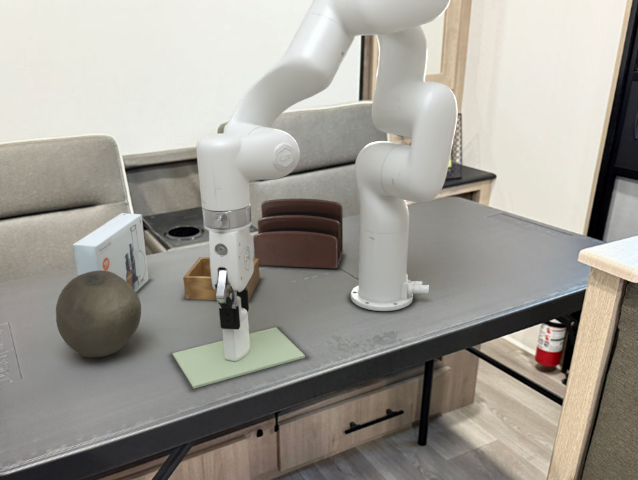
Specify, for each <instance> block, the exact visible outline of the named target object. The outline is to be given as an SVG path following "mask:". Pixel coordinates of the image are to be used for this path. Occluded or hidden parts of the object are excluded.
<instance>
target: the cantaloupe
mask: <svg viewBox="0 0 638 480" xmlns="http://www.w3.org/2000/svg"><path fill="white" fill-rule="evenodd" d="M139 297H140V296H139V295H138V294H137V292H135V291H134V289H133V287H132V286H131V285H130V284H129V283H128V282H127V281H125V280H124V279H123V278H121V277H119V276H118V275H116V274H115V273H112V272H109V271H101V270H100V271H91V272H87V273H84V274H81V275H79V276H78V275H77V276H75V277H74V278H72V279H71V280H70V281H68V283H67V284H66V285H65V286H64V287H63V288H62V290H61V292H60V293H59V296H58V297H57V301H56V305H55V322H56V327H57V330H58V333H59V335H60V336H61V338H62V340H63V341H64V343H65V344H66V345H67V346H68V347H69V348H70V349H72V351H74V352H75V353H76V354H78V355H80V356H83V357H86V358H102V357H107V356H110V355H111V354H114V353H116V352H117V351H119V350H120V349H122V348H123V347H124V346H125V345H126V344H127V342H128V341H129V340H130V339H131V338H132V337H133V336H134V335H135V333H136V331H137V329H138V328H139V325H140V322H141V318H142V303H141V299H140V298H139Z"/></svg>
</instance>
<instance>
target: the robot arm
mask: <svg viewBox="0 0 638 480" xmlns="http://www.w3.org/2000/svg"><path fill="white" fill-rule="evenodd" d="M450 2H451V0H312V2H311V4H310V6H309V8H308V9H307V11H306V13H305V15H304V17H303V19H302V21H301V23H300V24H299V26H298V28H297V30H296V32H295V34H294V35H293V38H292V39H291V41H290V43H289V45H288V47H287V49H286V51H285V52H284V54H283V55H282V57H281V58H280V59H279V61H277V62H276V63H275V64H273V66H271V67H270V68H269V69H268V70H267V71H266V72H265V73H264V74H263V75H262V76H261V77H260V78H258V79H257V81H255V82H254V83H253V84H252V85H251V86H250V87H249V88H248V89H247V91H245V93H244V94H243V95H242V97H241V98H240V100H239V101H238V103H237V105H236V106H235V108H234V110H233V111H232V113H231V115H230V118H229V120H228V122H227V124H226V126H225V128H224V131H223V133H221V132H220V133H212V134H207V135H203V136H202V137H200V138H199V139H198V141H197V142H196V147H195V148H196V149H195V151H196V162H197V172H198V182H199V183H198V184H199V192H200V203H201V212H202V221H203V228H204V230H206V231H208V249H209V251H208V252H209V253H208V255H209V257H210V271H211V280H212V286H213V289H214V290H215V291H217V293H216V299H217V300H216V301H217V307H218V314H219V325H220V328H221V330H222V329H239V328H240V316H239V306H237V296H239V297H240V298H241V308H244V309H246V310H247V313H248V312H249V310H250V303H249V301H250V300H249V301H248V290H244V289H247V283H248V282H249V280H250V278H251V276H252V274H253V271H254V262H253V259H254V252H253V246H252V237H251V236H252V235H251V230H250V228H251V226H252V224H253V222H252V208H251V207H252V205H251V191H250V182H251V181H263V180H264V181H265V180H278V179H282V178H284V177H287V176H289V174H291V173H293V171H294V170H295V169H296V168H297V166H298V163H299V161H300V156H301V155H300V154H301V153H300V152H301V150H300V146H299V143H298V142H297V141H296V139H295V138H294V137H293V135H291V134H289V133H288V132H286V131H284V130H283V129H282V130H281V129H279V128H274V127H272V125H273V124H274V123H275V121H276V120H277V119H278V118H279V117H280V115H282V114H283V113H284V112H285V111H286V110H288V109H289V108H291V107H292V106H294V105H296V104H297V103H300V102H302V101H304V100H308V99H310V98H312V97H314V96H316V95H317V94H319V93H321V92H324V91H325V90H326V89H328V88H329V86H330V85H331V84H332V82H333V81H334V79H335V77H336V75H337V72H338V71H339V69H340V67H341V65H342V63H343V61H344V59H345V57H346V56H347V54H348V52H349V50H350V48H351V46H352V45H353V43H354V41H355V39H356V38H357V37H358V36H359V37H360V36H376V39H377V44H378V60H377V70H376V76H375V84H374V90H373V97H372V103H371V121H372V124H373V126H374V127H375V129H377V130H378V131H380V132H382V133H386V134H390V135H393V136H400V137H405V138H411V143H410V144H411V145H409V144H405V143H400V142H393V141H385V140H380V141H379V140H378V141H374V142H370V143H368V144H366V145H365V146H364V147H362V148H361V150H360V151H359V153H358V154H357V157H356V159H355V163H354V177H355V183H356V188H357V194H358V203H359V204H358V205H359V206H358V207H359V226H358V228H359V229H358V231H359V233H358V235H359V236H358V238H359V239H358V284H357V285H356V286H355V287H353V288H352V289H351V291H350V300H351V301H352V303H354V305H356V306H358V307H360V308H362V309H365V310H369V311H374V312H393V311H398V310H401V309H402V310H403V309H404V308H406V307H408V306H409V305H411V304H412V302H413V300H414V295H415V294H416V295H427V296H428V295H429V294H430V285H429V284H423V281H422V280H415V281H414V280H413V281H412V280H411V279H408V278H409V277H408V275H409V274H408V273H407V271H408V269H407V268H408V266H407V265H408V250H409V248H408V247H409V231H410V230H409V229H410V211H409V207H408V203H407V202H410V203H411V202H412V203H415V204H427V203H430V202H432V201H433V200H435V199H436V198H437V197H438V196H439V194H440V193H441V191H442V189H443V187H444V184H445V182H446V179H447V176H448V175H447V174H448V169H449V165H450V160H451V154H452V150H453V145H454V139H455V134H456V129H457V122H458V113H459V111H458V102H457V98H456V95H455V94H454V92H453V90H452V89H451V88H450V87H449V86H447V85H446V84H444V83H441V82H437V81H428V80H427V81H426V73H427V64H428V56H429V55H428V54H429V49H428V48H429V47H428V41H427V37H426V35H425V32H424V30H423V28H422V25H426V24H429V23H432V22H434V21H436V20H437V19H439V18H440V17H441V16H442V15H443V14H444V13H445V11H446V10H447V8H448V7H449V5H450ZM227 285H230V287H231V288H227ZM232 288H233V289H232ZM226 293H229V296H230V293H232V300H231V298H230V297H227V294H226Z"/></svg>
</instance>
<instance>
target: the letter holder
mask: <svg viewBox="0 0 638 480" xmlns="http://www.w3.org/2000/svg"><path fill="white" fill-rule="evenodd" d="M260 207H261V208H260V209H261V217H260V218H259V219H257V233H256V234H254V236H253V237H252V238H253V239H252V240H253V242H252V243H253V259H259V267H280V268H281V267H283V268H284V267H285V268H307V269H327V270H338V268H339V265H340V263H341V260H342V257H343V253H344V250H343V249H344V247H343V245H344V241H343V240H344V239H343V238H344V237H343V236H344V232H343V230H344V229H343V227H344V226H343V225H344V224H343V223H344V222H343V220H344V219H343V218H344V216H343V214H344V213H343V212H344V211H343V210H344V209H343V205H342V204H341V203H340V202H338V201H333V200H327V199H326V200H325V199H319V198H318V199H317V198H296V197H295V198H277V199H270V200H264V201H262V202H261V205H260Z"/></svg>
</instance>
